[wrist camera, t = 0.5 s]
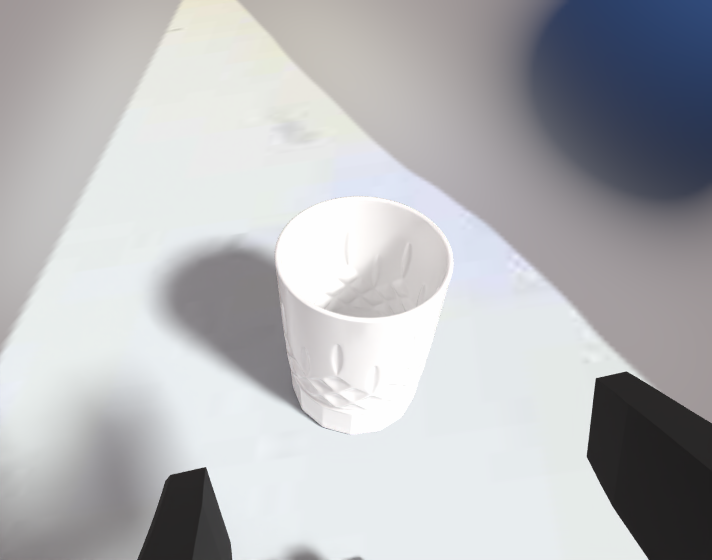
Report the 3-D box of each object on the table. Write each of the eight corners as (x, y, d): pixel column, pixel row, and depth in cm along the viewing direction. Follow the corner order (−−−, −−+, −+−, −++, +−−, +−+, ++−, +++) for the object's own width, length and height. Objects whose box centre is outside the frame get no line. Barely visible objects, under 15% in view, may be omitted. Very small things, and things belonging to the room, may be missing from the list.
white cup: (260, 422, 34) (246, 294, 27) (309, 313, 39) (308, 181, 32) (407, 464, 33) (434, 341, 25) (437, 345, 38) (466, 215, 31)
